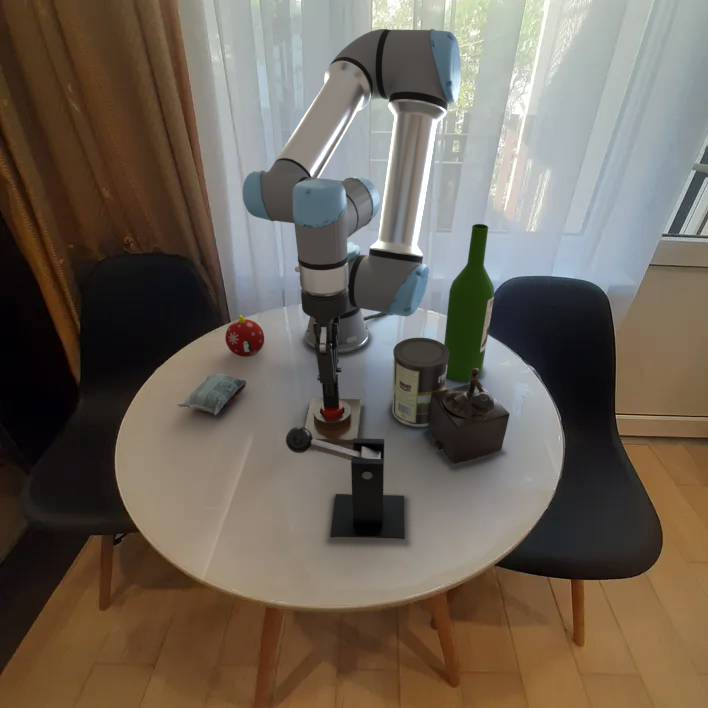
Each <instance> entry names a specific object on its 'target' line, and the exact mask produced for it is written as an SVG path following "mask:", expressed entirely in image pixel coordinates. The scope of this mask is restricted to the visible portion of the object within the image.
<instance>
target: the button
mask: <svg viewBox="0 0 708 708" xmlns="http://www.w3.org/2000/svg"><path fill="white" fill-rule="evenodd" d="M321 410H322V416H323V417H326V418H333V419H334V418H337V417H340V416H341V415H343V404H342V402H341V401H339V408H330V407H324V402H323V403H322V405H321Z"/></svg>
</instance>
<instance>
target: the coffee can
mask: <svg viewBox="0 0 708 708" xmlns="http://www.w3.org/2000/svg"><path fill="white" fill-rule="evenodd" d="M392 353H393V379H392V383H393V384H392V406H391V411H392V412H391V413H392V415H393V416H394V418H395V419H396V420H397V421H398V422H399V423H401V424H403V425H406V426H408V427H413V428H425V427H428V423H429V412H430V401H431V394H432V393H434V392H438V391H442V390H446V384H447V383H446V382H447V376H446V374H447V365H448V359H449V350H448V348H447V347H446V346H445V345H444V343H442V342H440V341H438V340H436V339H432V338H430V337H429V338H428V337H410V338H406V339H403V340H401V341H399V342H397V344H396V345H395V346H394V347H393V352H392Z"/></svg>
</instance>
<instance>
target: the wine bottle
mask: <svg viewBox="0 0 708 708" xmlns="http://www.w3.org/2000/svg"><path fill="white" fill-rule="evenodd" d="M489 229H490V228H489V226H488V225H486V224H483V223H475V224H473V225H472V226H471V235H470V243H469V250H468V256H467V263H466V265H465V266H464V267H463V269H461V271H460V273H458V275H456V276H455V278H454V280H453V281H452V283H451V285H450V288H449V292H448V303H447V313H446V323H445V332H444V341H443V342H444V343H443V344H444V345H445V346H446V347H447V348H448V350H449V359H448V365H447V374H446V378H447V379H450V380H452V381H456V382H461V383H465V382H466V383H468V382H471V380H470V378H469V377H470V375H471V374H472V373H471V370H472V369H473V368H478V370H479V373H478V378H479V377H481V375H482V373H483V367H484V361H485V356H486V355H485V354H486V349H487V348H486V347H487V343H488V336H489V332H490V331H489V330H490V324H491V318H492V313H493V305H494V299H495V286H494V283H493V282H492V280H491V278H490V275H489V274H488V271H487V269H486V267H485V257H486V249H487V241H488V235H489V234H488V233H489Z"/></svg>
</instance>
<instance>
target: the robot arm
mask: <svg viewBox="0 0 708 708" xmlns="http://www.w3.org/2000/svg"><path fill="white" fill-rule="evenodd" d="M461 63H462V62H461V52H460V46H459V42H458V39H457V38H456V36H455V34H454V33H452V31H447V30H440V29H439V30H437V29H434V28H430V29H388V28H378V29H374V30H371V31H368V32H366V33H364V34H362V35H360V36H358V37H357V38H355V39H354V40H353V41H351V42H350V43H349V44H348V45H347V46H345V47H344V48H343V49H341V51H340V52H339V53H338V54H337V55H336V56H335V57H334V59H333V60H332V61H331V63H330V64H329V66H328V67H327V69H326V71H325V73H324V84H323V86H322V87H321V89H320V91H319V92H318V94H317V95H316V97H315V98H314V100H313V101H312V103H311V105H310V106H309V108H308V109H307V111H306V113H305V114H304V115H303V117H302V118H301V120H300V122H299V124H298V125H297V127H296V128H295V130H294V131H293V132H292V134H291V136H290V137H289V138H288V141H287V142H286V143H285V144H284V145H285V146H284V147H283V149H282V150H281V152H280V153H279V155H278V156H277V158H276V159H275V161H274V163H273V164H272V166H271V167H270V168H269V170H268V171H265V170H263V169H262V170H257V171H252V172H250V173H249V174H248V175H246V177H245V179H244V181H243V185H242V201H243V204H244V206H245V208H246V210H247V211H248V213H249V214H250V215H251V216H253V217H255V218H259V219H261V220H267V221H270V222H279V223H280V222H281V223H289V224H294V235H295V241H296V242H295V243H296V250H297V262H298V265H295V268H294V271H295V272H296V273H299V285H300V288H301V289H300V299H301V309H302V311H303V314H305V315H307V316H308V317H309V320H308V323H307V327H306V330H305V342H306V344H307V346H308V347H309V348H310V349H311V350H313V351H315V354H316V362H317V368H318V375H317V378H316V379H317V381H319V383H320V384H321V387H322V398H323V402H324V407H330V408H339V399H340V391H339V389H340V388H339V374H340V373H341V374H342V371H343V369H342V368H343V367H341V366H340V367H338V365H339V362H340V359H339V356H344V355H349V354H352V353H356V352H358V351H360V350H362V349H363V348H364V347H365V346H366V345H367V344H368V342H369V329H368V326H367V324H366V323H365V322H366V321H369V320H371V319H376V318H380V317H382V316H385V315H386V314H389V316H401V317H410V316H411V315H413V314H414V313H416V311H417V310H418V308H419V307H420V305H421V303H422V301H423V299H424V296H425V294H426V290H427V287H428V282H429V277H430V276H429V275H430V268H429V266H428V265H427V264H426V263H424V262H423V260H424V253H423V252H422V251H421V249H420V248H419V240H420V234H421V233H420V232H421V226H422V221H423V220H422V219H423V213H424V207H425V201H426V195H427V189H428V183H429V176H430V170H431V164H432V157H433V151H434V143H435V138H436V131H437V125H438V123H439V122H440V121H441V120H442V119H443V118H445V117H446V115H447V110H448V105H453V104H455V103H457V102H458V99H459V95H460V91H461V81H462V79H461V77H462V66H461ZM380 99H381V100H388V109H389V110H390V112H391V113H392V115H393V116H394V119H393V125H392V134H391V140H390V148H389V154H388V163H387V168H386V169H387V170H386V177H385V186H384V192H383V199H382V208H381V214H380V215H381V216H380V222H379V230H378V238H377V240H376V241H375V242H374V243H373V244H372V245H370V247H369V249H368V250H369V251H368V255H367V254H362V253H361V248H360V246H359V245H358V244H356V243H355V242H351V241H350V242H349V241H348V238H350V237H351V236H352V235H354V234H355V233H356V232H358V231H359V230H361V229H362V228H364V227H367V225H369V224H370V222H371V221H372V220H373V219H374V218H375V217H376V215H377V214H378V212H379V210H380V206H381V205H380V204H381V198H380V194H379V191H378V189H377V187H376V185H375V184H374V183H373V182H372V181H371V180H369V179H368V178H366V177H364V176H358V175H357V176H353V177H352V176H350V177H347V178H345V179H344V180H338V179H331V178H320V176H321V175H322V173H323V171H324V170H325V168H326V166H327V165H328V163H329V161H330V159H331V158H332V156H333V155H334V152H335V151H336V149H337V147H338V146H339V144H340V142H341V140H342V139H343V137H344V135H345V134H346V131H347V130H348V128H349V126H350V125H351V123H352V121H353V119H354V118H355V116H356V114H357V112H359V111H362V110H364V108H366V107H367V105H368V104H369V103H370V101H372V100H380ZM362 310H367V311H373V312H378V313H375V314H369V315H367V316H363V313H362ZM338 373H339V374H338Z"/></svg>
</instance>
